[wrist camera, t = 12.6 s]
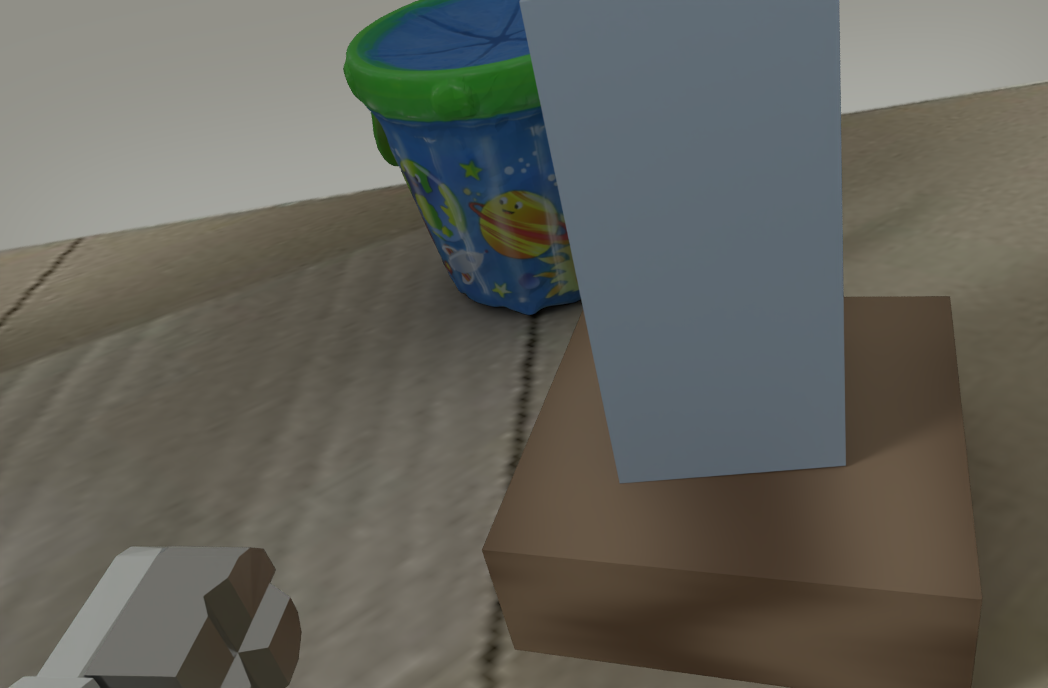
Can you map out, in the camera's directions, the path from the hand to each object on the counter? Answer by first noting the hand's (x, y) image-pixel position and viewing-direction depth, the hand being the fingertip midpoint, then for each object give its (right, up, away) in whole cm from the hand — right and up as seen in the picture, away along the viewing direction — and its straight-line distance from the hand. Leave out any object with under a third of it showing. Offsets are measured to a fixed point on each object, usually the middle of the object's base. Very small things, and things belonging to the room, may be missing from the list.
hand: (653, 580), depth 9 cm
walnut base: (+5, -3, +16) cm, 17 cm away
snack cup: (0, +5, +28) cm, 28 cm away
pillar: (+4, +1, +14) cm, 14 cm away
